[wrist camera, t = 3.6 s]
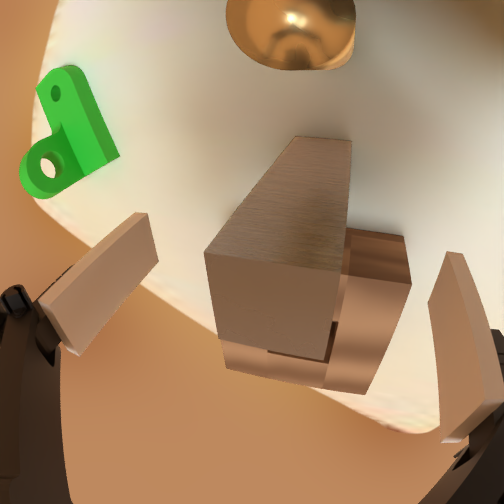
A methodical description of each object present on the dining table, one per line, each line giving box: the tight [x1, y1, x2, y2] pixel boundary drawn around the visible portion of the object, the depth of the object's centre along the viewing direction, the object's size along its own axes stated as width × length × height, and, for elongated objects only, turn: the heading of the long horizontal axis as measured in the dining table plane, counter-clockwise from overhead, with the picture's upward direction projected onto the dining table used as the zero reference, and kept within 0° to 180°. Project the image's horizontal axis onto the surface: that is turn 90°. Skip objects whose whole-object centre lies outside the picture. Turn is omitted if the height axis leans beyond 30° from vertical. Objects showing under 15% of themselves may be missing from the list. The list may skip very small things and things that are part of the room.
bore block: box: [221, 228, 412, 395], centre depth 26 cm, size 14×14×6 cm
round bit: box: [226, 0, 356, 70], centre depth 12 cm, size 4×4×12 cm
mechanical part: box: [19, 65, 120, 199], centre depth 22 cm, size 12×6×8 cm, turn 22°
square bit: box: [204, 136, 352, 360], centre depth 16 cm, size 4×4×15 cm
